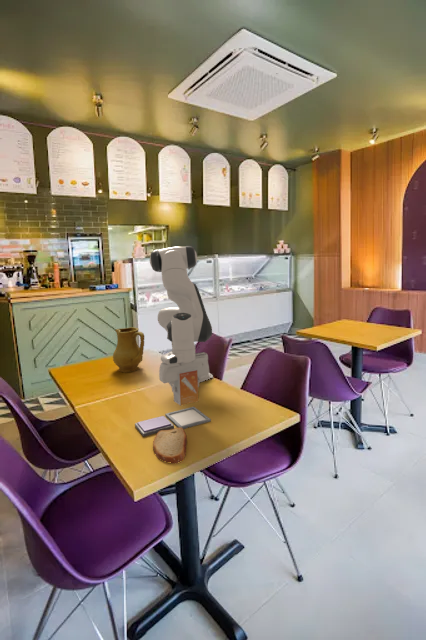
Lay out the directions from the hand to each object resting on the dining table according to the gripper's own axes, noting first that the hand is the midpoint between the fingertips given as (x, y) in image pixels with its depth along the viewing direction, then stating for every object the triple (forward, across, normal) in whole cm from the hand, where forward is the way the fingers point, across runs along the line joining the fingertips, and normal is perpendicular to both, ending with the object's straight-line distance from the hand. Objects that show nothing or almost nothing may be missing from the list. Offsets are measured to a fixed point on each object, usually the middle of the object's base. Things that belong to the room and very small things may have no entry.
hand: (185, 389), depth 140 cm
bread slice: (+13, +13, +17) cm, 25 cm away
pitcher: (+12, 0, -81) cm, 82 cm away
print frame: (+12, 0, 0) cm, 12 cm away
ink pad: (+12, +14, 0) cm, 18 cm away
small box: (+5, 0, 0) cm, 5 cm away
